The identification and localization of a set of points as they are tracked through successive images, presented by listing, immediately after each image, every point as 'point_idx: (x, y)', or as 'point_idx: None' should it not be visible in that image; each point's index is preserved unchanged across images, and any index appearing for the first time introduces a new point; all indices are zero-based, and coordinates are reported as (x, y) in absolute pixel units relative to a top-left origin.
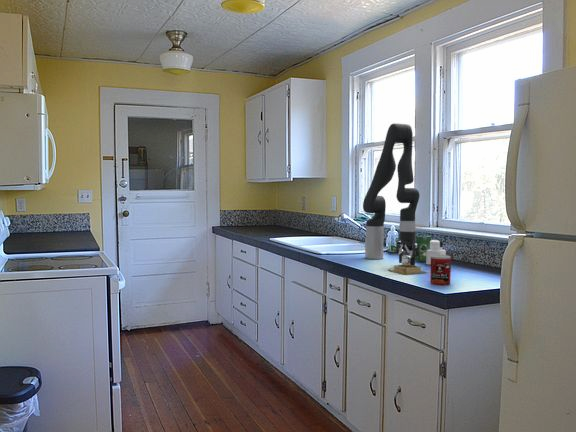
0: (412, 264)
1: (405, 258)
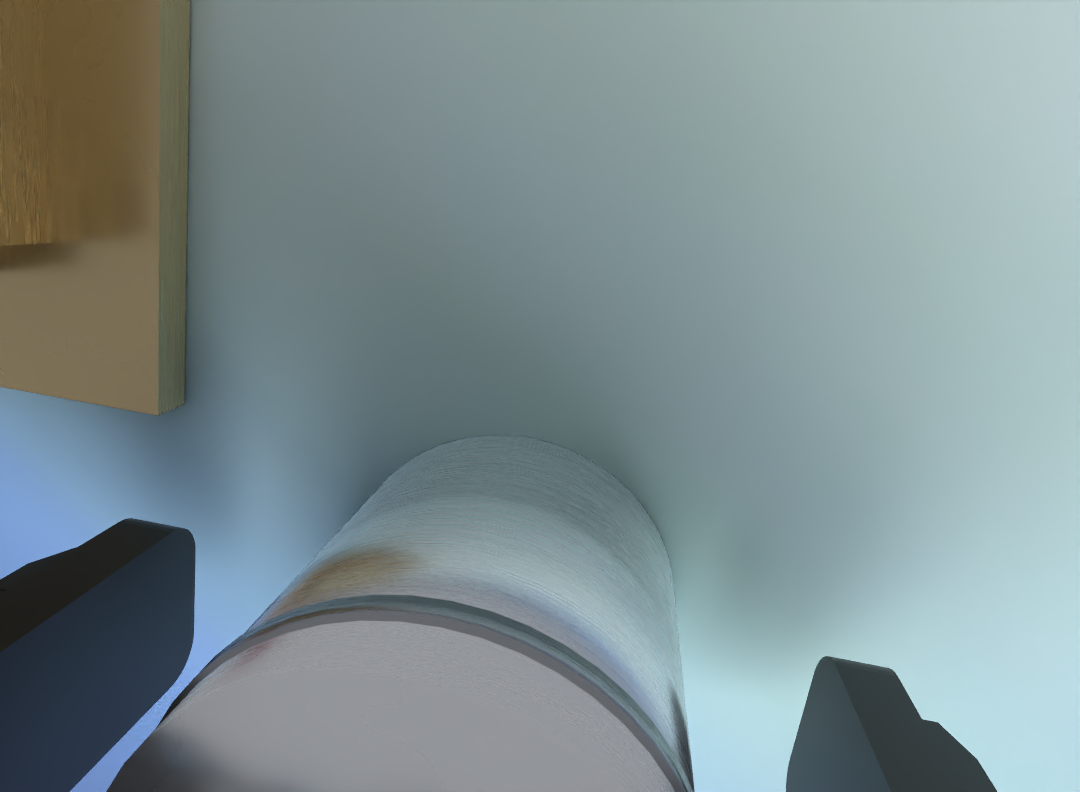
0: (69, 551)
1: (257, 624)
